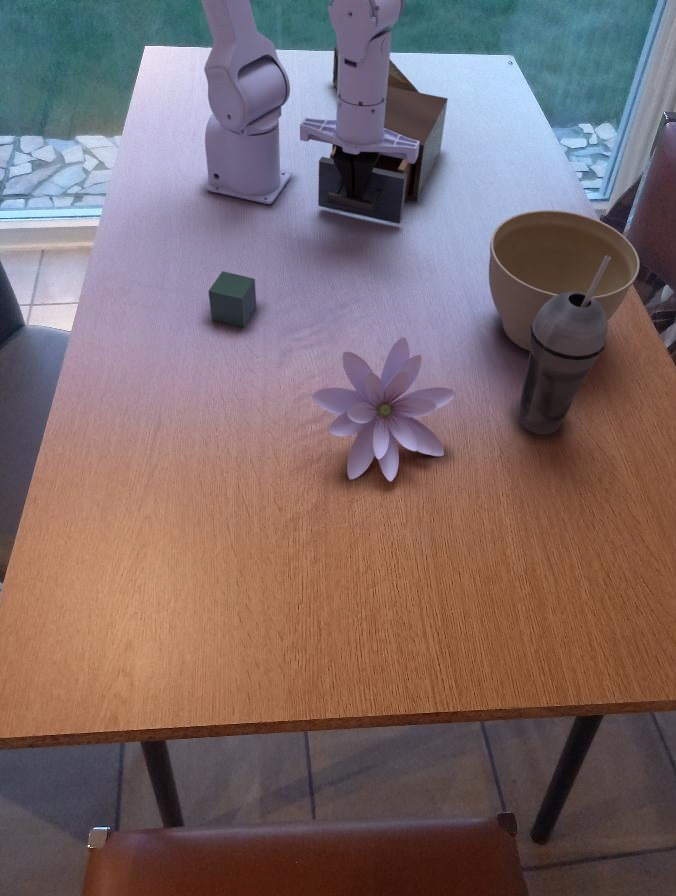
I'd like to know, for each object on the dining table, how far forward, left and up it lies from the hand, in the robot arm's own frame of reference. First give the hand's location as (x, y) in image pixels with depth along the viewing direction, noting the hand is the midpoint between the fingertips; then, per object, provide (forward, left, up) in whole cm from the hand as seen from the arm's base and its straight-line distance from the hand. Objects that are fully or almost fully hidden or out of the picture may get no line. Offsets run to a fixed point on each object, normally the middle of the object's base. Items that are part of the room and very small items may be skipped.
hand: (355, 203), depth 100 cm
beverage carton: (-7, +34, -4) cm, 35 cm away
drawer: (0, +6, -3) cm, 7 cm away
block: (-8, -22, -4) cm, 24 cm away
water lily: (+14, -37, -4) cm, 40 cm away
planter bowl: (+27, -12, -4) cm, 30 cm away
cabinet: (0, +17, -4) cm, 17 cm away
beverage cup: (+29, -27, -4) cm, 40 cm away
